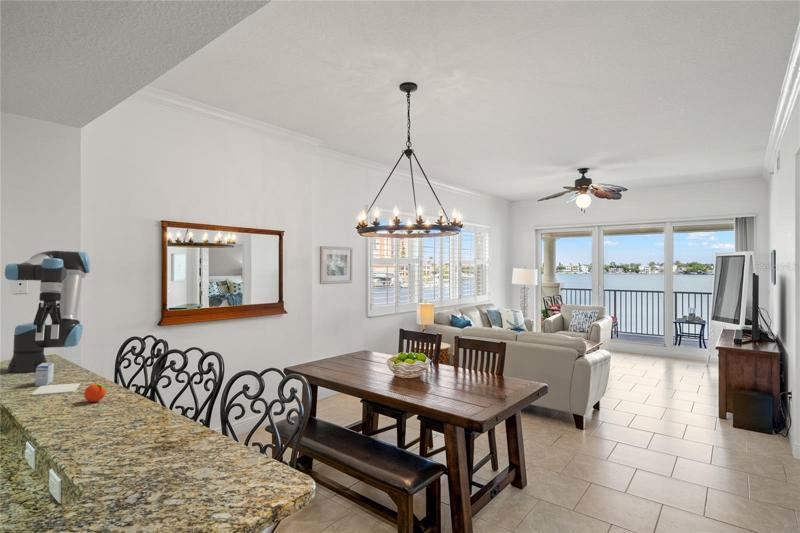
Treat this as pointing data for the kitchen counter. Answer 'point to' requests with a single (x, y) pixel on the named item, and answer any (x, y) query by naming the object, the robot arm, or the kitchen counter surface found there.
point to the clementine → (94, 392)
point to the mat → (56, 389)
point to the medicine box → (44, 374)
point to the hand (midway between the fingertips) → (47, 339)
